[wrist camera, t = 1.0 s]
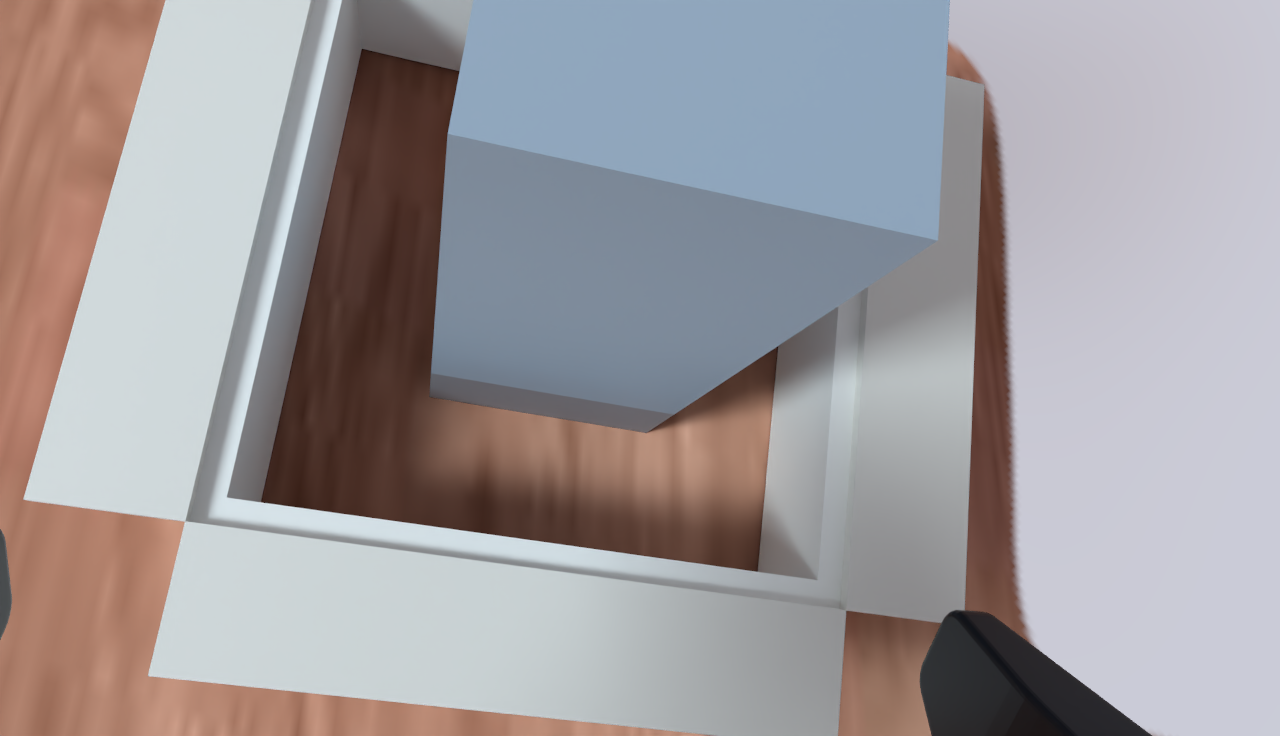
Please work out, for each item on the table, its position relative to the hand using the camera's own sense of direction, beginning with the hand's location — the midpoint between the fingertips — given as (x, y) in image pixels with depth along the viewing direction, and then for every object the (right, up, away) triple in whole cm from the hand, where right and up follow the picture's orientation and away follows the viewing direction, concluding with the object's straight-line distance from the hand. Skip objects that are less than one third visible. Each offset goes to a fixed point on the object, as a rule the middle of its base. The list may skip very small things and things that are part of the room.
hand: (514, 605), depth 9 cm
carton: (-1, +2, +13) cm, 13 cm away
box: (-1, +4, +13) cm, 14 cm away
